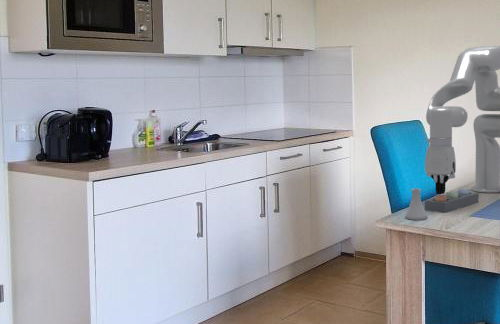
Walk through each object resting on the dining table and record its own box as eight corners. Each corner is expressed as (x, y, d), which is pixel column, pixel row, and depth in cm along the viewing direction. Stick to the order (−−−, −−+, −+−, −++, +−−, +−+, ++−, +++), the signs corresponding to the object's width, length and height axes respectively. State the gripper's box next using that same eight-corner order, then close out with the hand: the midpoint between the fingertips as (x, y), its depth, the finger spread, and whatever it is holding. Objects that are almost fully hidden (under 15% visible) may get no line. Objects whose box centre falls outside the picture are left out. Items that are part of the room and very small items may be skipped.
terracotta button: (438, 202, 225) (438, 194, 225) (448, 203, 222) (448, 195, 222) (432, 204, 223) (432, 196, 222) (442, 205, 220) (442, 197, 219)
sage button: (450, 199, 231) (450, 191, 230) (460, 200, 228) (460, 192, 227) (444, 200, 228) (444, 192, 228) (454, 202, 225) (454, 194, 225)
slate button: (461, 196, 236) (461, 188, 236) (471, 197, 233) (471, 189, 233) (455, 197, 233) (455, 189, 233) (465, 198, 230) (465, 190, 230)
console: (459, 199, 239) (459, 190, 238) (478, 202, 233) (478, 193, 233) (424, 209, 223) (424, 200, 223) (444, 212, 217) (444, 203, 217)
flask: (428, 220, 206) (428, 191, 205) (405, 220, 208) (405, 191, 207) (426, 216, 213) (426, 187, 212) (404, 215, 215) (404, 187, 214)
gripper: (416, 142, 223) (416, 192, 225) (454, 144, 212) (454, 197, 214) (427, 140, 228) (427, 190, 230) (465, 142, 217) (465, 194, 219)
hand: (440, 193), depth 222 cm, fingers closed
